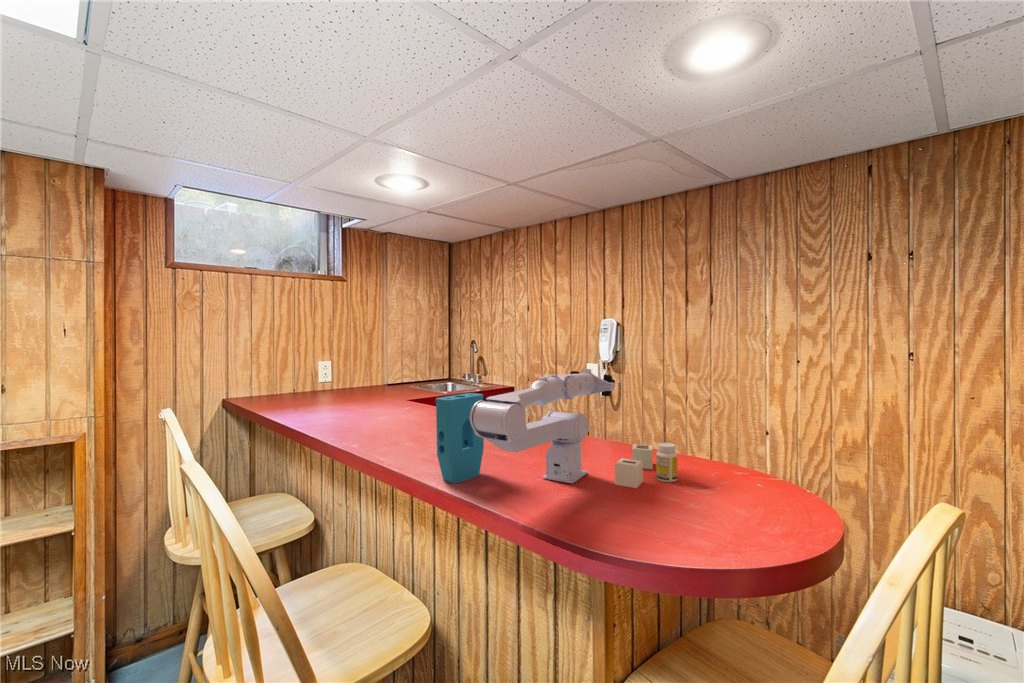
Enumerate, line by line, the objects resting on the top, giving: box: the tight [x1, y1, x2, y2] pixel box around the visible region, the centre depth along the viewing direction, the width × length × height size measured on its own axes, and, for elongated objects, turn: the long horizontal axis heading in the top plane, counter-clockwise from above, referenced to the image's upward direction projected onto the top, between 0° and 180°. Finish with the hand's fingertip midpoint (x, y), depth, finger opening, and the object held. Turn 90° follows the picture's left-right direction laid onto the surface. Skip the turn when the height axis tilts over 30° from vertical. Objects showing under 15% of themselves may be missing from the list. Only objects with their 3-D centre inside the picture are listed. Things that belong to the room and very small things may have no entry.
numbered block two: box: [631, 443, 654, 470], centre depth 121 cm, size 5×5×5 cm
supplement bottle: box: [655, 442, 678, 483], centre depth 110 cm, size 5×5×8 cm
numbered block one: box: [614, 457, 644, 489], centre depth 108 cm, size 5×5×5 cm
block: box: [435, 392, 485, 484], centre depth 113 cm, size 12×5×20 cm, turn 138°
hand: (600, 382), depth 129 cm, fingers open, 7 cm apart
